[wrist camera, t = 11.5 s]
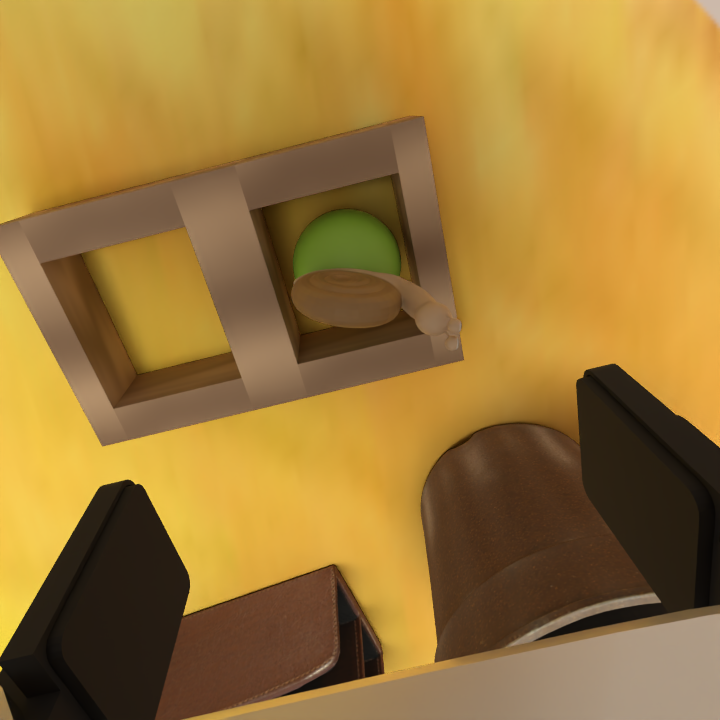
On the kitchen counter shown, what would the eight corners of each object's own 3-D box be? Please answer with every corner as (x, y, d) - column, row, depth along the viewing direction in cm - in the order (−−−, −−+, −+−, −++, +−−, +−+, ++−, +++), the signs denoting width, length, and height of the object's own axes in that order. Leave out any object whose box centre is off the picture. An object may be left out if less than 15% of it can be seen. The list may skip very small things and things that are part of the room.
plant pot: (390, 395, 33) (444, 615, 19) (641, 383, 34) (879, 585, 20) (389, 585, 40) (428, 854, 26) (598, 571, 41) (751, 824, 26)
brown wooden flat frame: (30, 213, 27) (-14, 228, 24) (409, 115, 27) (423, 116, 23) (126, 409, 32) (102, 446, 29) (447, 331, 32) (463, 360, 28)
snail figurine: (406, 302, 31) (452, 404, 20) (294, 296, 30) (279, 400, 19) (416, 205, 29) (475, 262, 18) (296, 198, 28) (280, 251, 17)
